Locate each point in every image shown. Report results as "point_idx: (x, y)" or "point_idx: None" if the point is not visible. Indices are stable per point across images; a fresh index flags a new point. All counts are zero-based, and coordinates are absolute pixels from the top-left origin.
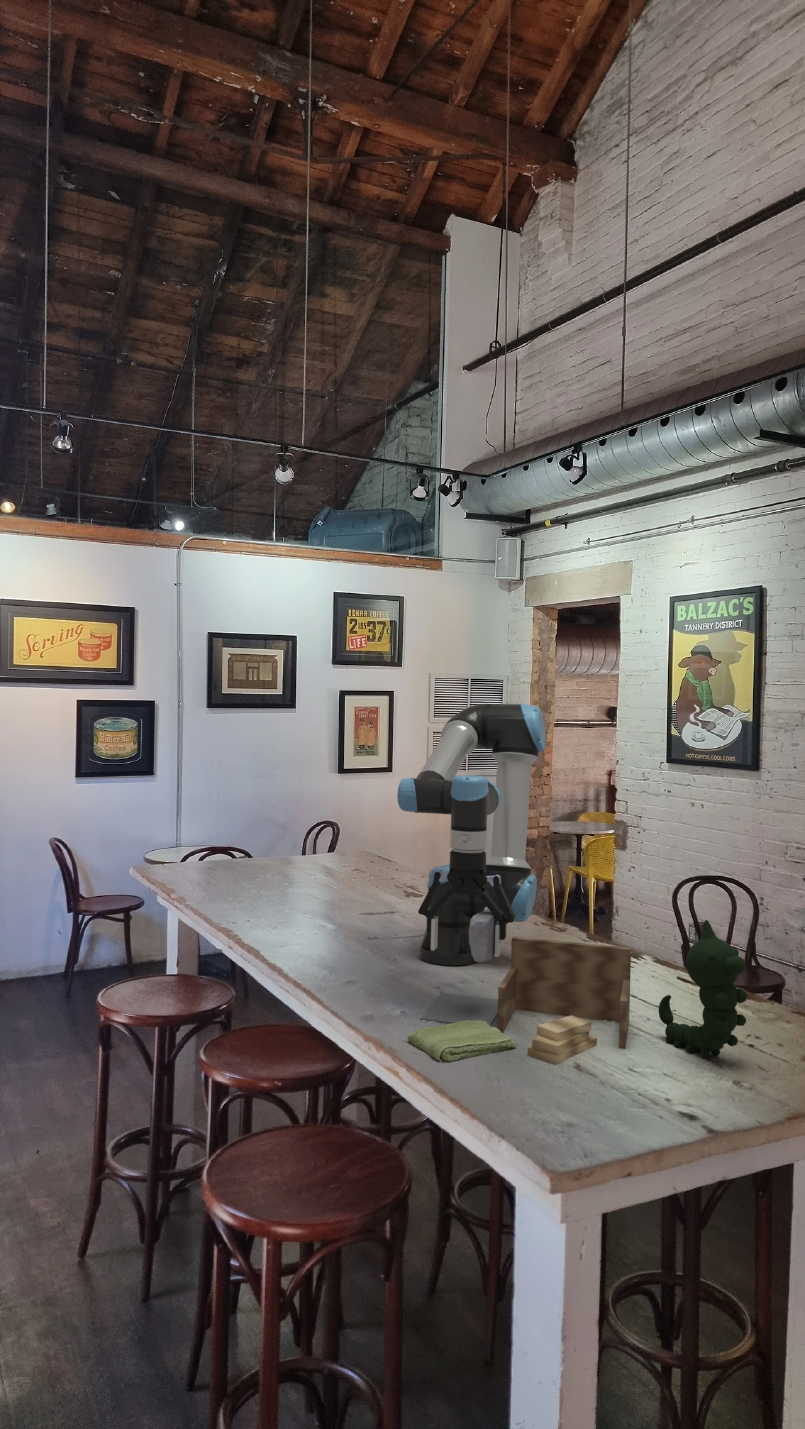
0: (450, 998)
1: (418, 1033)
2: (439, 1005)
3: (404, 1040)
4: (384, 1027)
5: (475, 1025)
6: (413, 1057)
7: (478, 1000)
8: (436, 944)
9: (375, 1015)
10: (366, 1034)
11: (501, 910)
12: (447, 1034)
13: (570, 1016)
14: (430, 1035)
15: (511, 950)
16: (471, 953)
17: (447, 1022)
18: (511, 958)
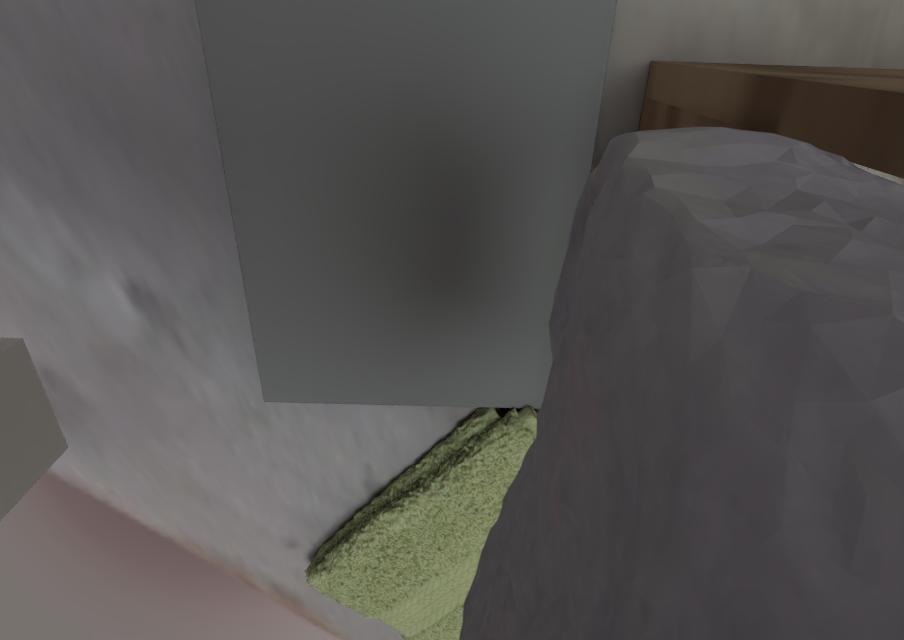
0: (285, 62)
1: (339, 596)
2: (274, 213)
3: (291, 540)
4: (173, 468)
5: (509, 479)
6: (363, 620)
7: (457, 42)
8: (8, 400)
9: (65, 370)
10: (156, 530)
11: None
12: (433, 590)
13: None
14: (385, 614)
15: (896, 173)
16: (465, 599)
17: (381, 402)
18: (833, 153)
